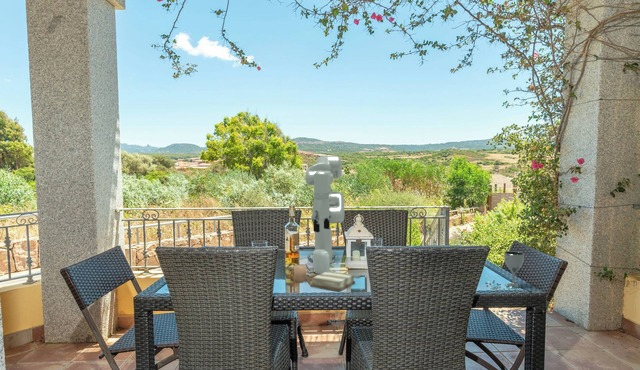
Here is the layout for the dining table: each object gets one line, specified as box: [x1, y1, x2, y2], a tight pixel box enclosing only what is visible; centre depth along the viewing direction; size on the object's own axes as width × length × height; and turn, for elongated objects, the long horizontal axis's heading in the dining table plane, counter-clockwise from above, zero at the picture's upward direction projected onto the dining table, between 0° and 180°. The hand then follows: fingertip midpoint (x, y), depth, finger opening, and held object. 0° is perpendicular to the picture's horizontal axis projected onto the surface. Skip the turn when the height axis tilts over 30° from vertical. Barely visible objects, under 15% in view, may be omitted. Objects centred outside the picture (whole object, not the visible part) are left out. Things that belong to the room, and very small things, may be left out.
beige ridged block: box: [310, 270, 356, 293], centre depth 194 cm, size 15×15×4 cm
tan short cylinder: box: [293, 264, 307, 283], centre depth 201 cm, size 6×6×7 cm
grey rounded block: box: [312, 249, 331, 275], centre depth 213 cm, size 10×4×12 cm, turn 39°
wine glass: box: [504, 250, 525, 288], centre depth 191 cm, size 8×8×15 cm
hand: (321, 230), depth 212 cm, fingers open, 9 cm apart
